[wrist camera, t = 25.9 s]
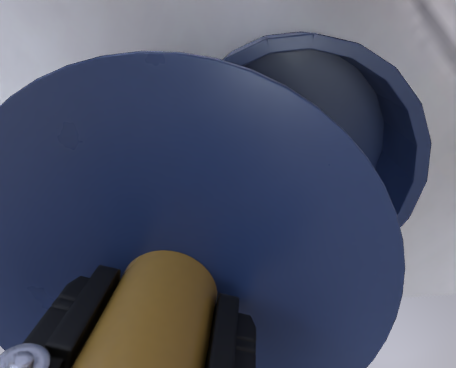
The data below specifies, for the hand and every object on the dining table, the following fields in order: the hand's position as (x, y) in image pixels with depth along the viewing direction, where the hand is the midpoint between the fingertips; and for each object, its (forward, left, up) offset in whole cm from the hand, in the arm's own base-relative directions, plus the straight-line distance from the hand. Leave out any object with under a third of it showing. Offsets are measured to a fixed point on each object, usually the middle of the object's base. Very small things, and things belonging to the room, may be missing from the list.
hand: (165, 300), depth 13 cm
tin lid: (0, 0, -1) cm, 1 cm away
